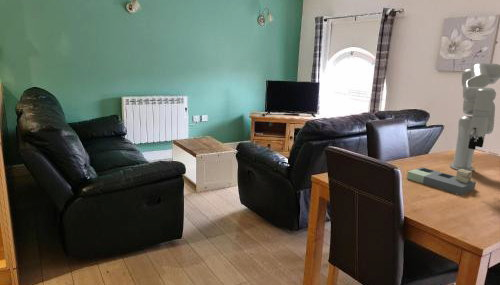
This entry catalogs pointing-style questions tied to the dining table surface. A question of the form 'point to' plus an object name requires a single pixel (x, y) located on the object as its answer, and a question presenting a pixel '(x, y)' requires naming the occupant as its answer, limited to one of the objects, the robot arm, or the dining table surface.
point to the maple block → (463, 175)
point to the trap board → (440, 180)
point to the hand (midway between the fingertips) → (475, 147)
